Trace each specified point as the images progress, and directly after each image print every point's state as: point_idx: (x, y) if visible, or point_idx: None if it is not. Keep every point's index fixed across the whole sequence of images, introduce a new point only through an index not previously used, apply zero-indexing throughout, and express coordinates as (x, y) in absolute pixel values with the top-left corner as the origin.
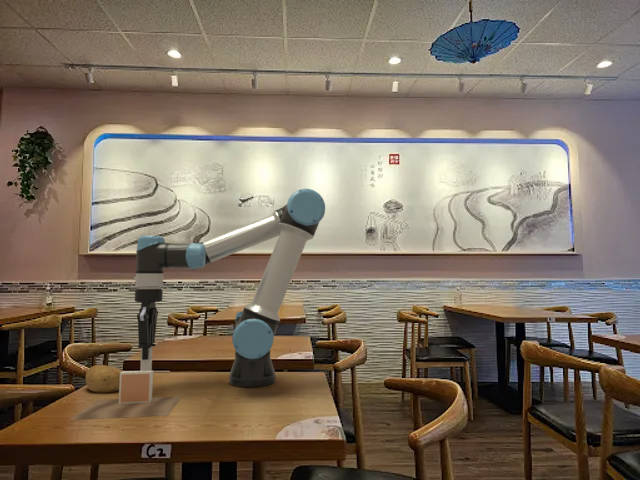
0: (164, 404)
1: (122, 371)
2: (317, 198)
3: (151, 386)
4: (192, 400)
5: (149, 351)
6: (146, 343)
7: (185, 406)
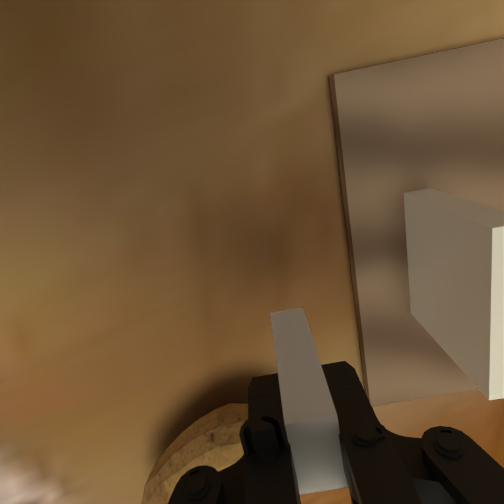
0: (465, 106)
1: (225, 462)
2: None
3: (460, 202)
4: (317, 17)
5: (330, 400)
6: (490, 464)
7: (419, 14)
